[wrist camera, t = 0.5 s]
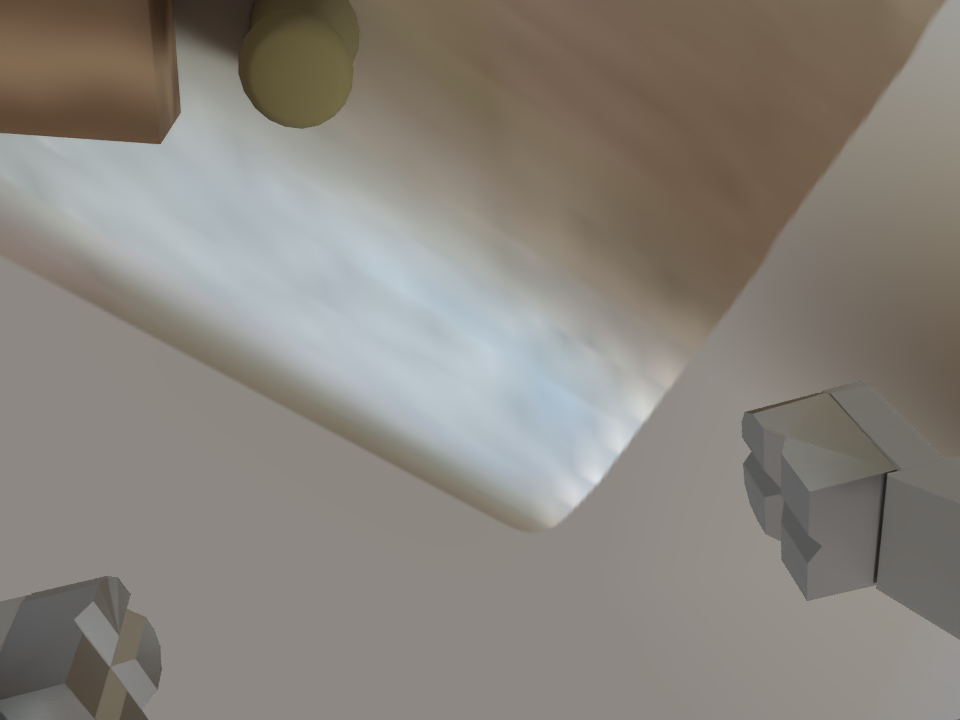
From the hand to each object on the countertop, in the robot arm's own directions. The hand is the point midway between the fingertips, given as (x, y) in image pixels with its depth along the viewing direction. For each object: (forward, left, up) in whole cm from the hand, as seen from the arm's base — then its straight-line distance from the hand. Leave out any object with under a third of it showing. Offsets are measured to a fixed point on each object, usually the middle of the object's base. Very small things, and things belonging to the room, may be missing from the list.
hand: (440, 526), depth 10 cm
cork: (+2, -3, -42) cm, 42 cm away
